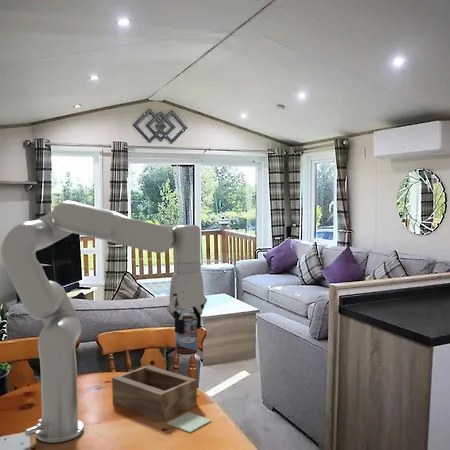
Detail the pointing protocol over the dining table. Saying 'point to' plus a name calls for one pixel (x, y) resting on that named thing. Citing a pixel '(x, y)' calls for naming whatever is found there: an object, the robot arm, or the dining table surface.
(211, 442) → the dining table surface
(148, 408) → the box
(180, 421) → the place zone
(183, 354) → the beverage can
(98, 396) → the dining table surface
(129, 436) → the dining table surface
